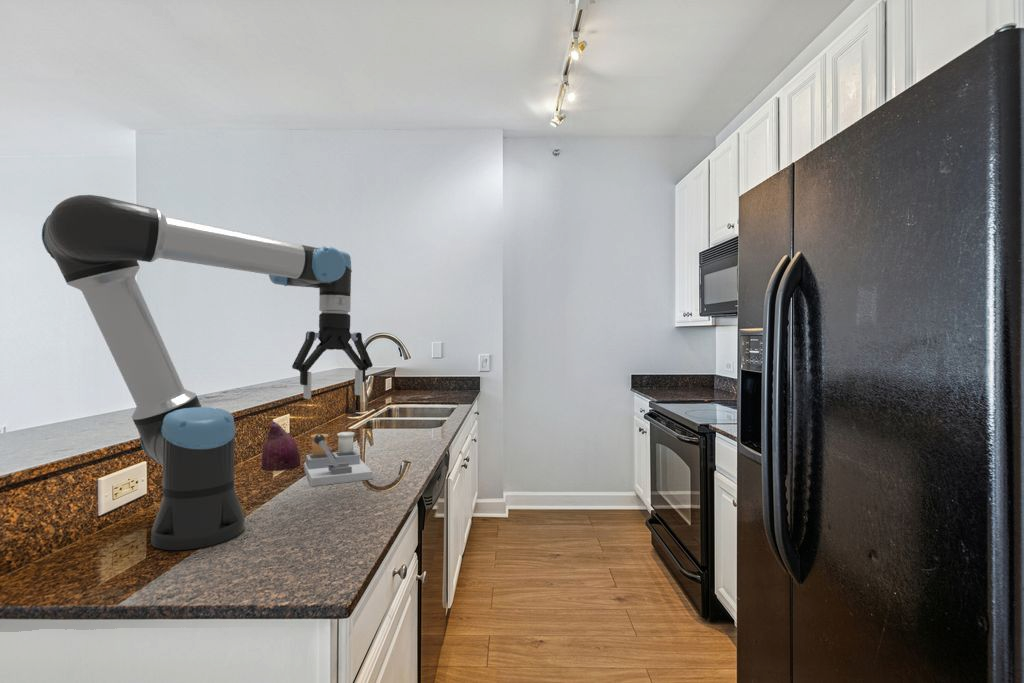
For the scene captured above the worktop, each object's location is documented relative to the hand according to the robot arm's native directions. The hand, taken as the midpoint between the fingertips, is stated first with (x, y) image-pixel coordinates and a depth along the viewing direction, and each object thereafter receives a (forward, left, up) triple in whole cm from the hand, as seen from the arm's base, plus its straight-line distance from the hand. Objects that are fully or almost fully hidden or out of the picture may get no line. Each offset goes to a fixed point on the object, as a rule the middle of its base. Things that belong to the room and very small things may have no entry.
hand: (333, 396), depth 131 cm
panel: (+2, +10, -22) cm, 24 cm away
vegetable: (-11, +26, -23) cm, 36 cm away
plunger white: (+5, +14, -17) cm, 22 cm away
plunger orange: (-2, +14, -17) cm, 22 cm away
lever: (+2, +5, -20) cm, 21 cm away
